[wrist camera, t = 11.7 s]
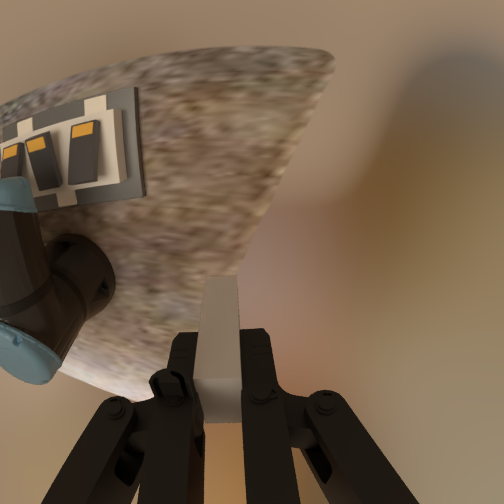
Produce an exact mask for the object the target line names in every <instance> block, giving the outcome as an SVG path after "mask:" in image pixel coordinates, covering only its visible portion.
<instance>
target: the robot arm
mask: <svg viewBox="0 0 504 504" xmlns="http://www.w3.org/2000/svg"><path fill="white" fill-rule="evenodd" d="M37 212H38V210H37V208H36V207H35V203H34V199H33V194H32V189H31V185H30V183H29V181H28V180H27V179H25V178H24V177H21V176H16V177H9V178H3V179H0V366H1V367H2V368H3V369H4V370H5V371H7V372H8V373H10V374H11V375H13V376H14V377H16V378H18V379H20V380H22V381H24V382H27V383H31V384H35V385H42V384H46V383H48V382H49V381H50V380H51V379H52V378H53V376H54V374H55V373H56V371H57V370H58V369H59V368H60V367H61V365H62V363H63V361H64V359H65V357H66V355H67V353H68V351H69V349H70V347H71V346H72V344H73V342H74V340H75V338H76V336H77V335H78V333H79V331H80V329H81V327H82V326H83V324H84V322H85V321H87V320H88V319H90V318H92V317H93V316H95V315H96V314H98V313H99V312H101V311H102V310H103V309H104V308H105V307H106V306H107V304H108V303H109V301H110V299H111V297H112V295H113V293H114V288H115V278H114V273H113V269H112V267H111V264H110V262H109V260H108V259H107V257H106V256H105V254H104V253H103V252H102V251H101V249H100V248H99V247H98V246H97V245H95V244H94V243H93V242H91V241H90V240H88V239H87V238H85V237H82V236H79V235H75V234H64V235H60V236H58V237H56V238H55V239H54V240H52V241H51V242H50V243H49V244H48V245H47V246H46V247H44V243H43V239H42V235H41V231H40V226H39V221H38V216H37ZM149 384H150V387H151V389H152V392H153V394H154V397H153V398H151V399H148V400H145V401H140V402H135V403H131V402H130V400H128V399H127V398H125V397H121V396H115V397H110V398H108V399H107V400H104V402H103V403H102V404H101V405H100V406H99V408H98V409H97V411H96V413H95V414H94V416H93V417H92V419H91V420H90V422H89V424H88V425H87V427H86V428H85V430H84V431H83V433H82V435H81V436H80V438H79V440H78V441H77V443H76V444H75V446H74V448H73V450H72V451H71V453H70V454H69V456H68V458H67V460H66V461H65V463H64V465H63V466H62V468H61V469H60V471H59V473H58V475H57V477H56V478H55V480H54V482H53V483H52V485H51V487H50V489H49V490H48V492H47V494H46V496H45V497H44V499H43V501H42V503H41V504H131V502H132V500H133V498H134V495H135V493H136V491H137V489H138V486H139V484H140V487H139V494H138V502H137V504H204V461H205V432H204V429H203V424H204V420H205V423H239V422H242V432H243V450H244V468H245V484H246V500H247V504H301V503H300V497H299V491H298V485H297V479H296V474H295V468H294V462H293V456H292V450H291V447H294V448H300V450H301V452H302V454H303V456H304V458H305V460H306V462H307V464H308V465H309V467H310V469H311V471H312V473H313V474H314V477H315V478H316V480H317V482H318V484H319V486H320V488H321V489H322V491H323V493H324V495H325V497H326V498H327V500H328V502H329V504H419V503H418V501H417V500H416V499H415V497H414V496H413V494H412V493H411V492H410V490H409V489H408V488H407V486H406V485H405V483H404V482H403V481H402V479H401V478H400V476H399V475H398V474H397V472H396V471H395V469H394V468H393V467H392V465H391V464H390V462H389V461H388V460H387V458H386V457H385V456H384V454H383V453H382V451H381V450H380V449H379V447H378V446H377V445H376V443H375V442H374V440H373V439H372V438H371V436H370V435H369V433H368V432H367V430H366V429H365V428H364V426H363V425H362V423H361V422H360V421H359V419H358V418H357V416H356V415H355V414H354V412H353V411H352V409H351V408H350V406H349V405H348V404H347V402H346V401H345V399H344V398H343V397H342V396H341V395H340V394H339V393H336V392H334V391H330V390H321V391H317V392H315V393H313V394H311V395H310V396H309V397H302V396H296V395H292V394H289V393H287V392H285V391H284V390H283V389H282V388H281V387H280V386H279V384H278V382H277V377H276V371H275V365H274V359H273V354H272V347H271V342H270V336H269V335H268V333H267V332H266V331H265V330H264V329H263V328H258V329H242V330H240V319H239V304H238V289H237V275H232V276H212V277H206V282H205V289H204V296H203V303H202V310H201V317H200V325H199V332H179V334H178V335H177V336H176V337H175V338H174V340H173V342H172V347H171V351H170V356H169V360H168V365H167V368H166V369H162V370H159V371H157V372H156V373H155V374H153V375H152V376H151V378H150V380H149Z"/></svg>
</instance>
